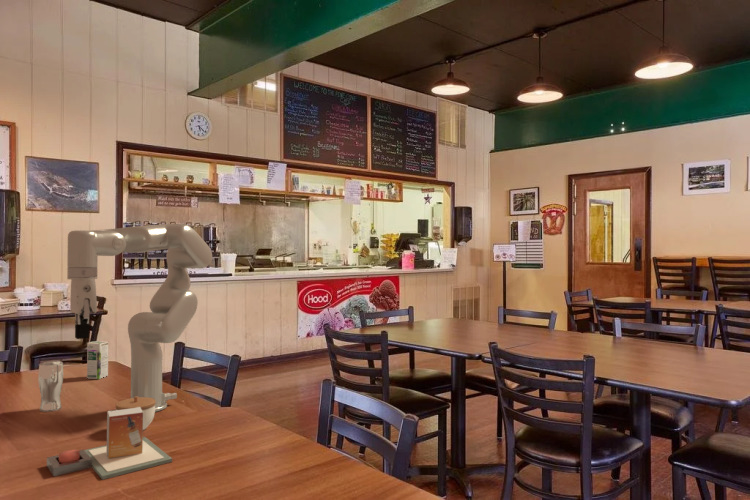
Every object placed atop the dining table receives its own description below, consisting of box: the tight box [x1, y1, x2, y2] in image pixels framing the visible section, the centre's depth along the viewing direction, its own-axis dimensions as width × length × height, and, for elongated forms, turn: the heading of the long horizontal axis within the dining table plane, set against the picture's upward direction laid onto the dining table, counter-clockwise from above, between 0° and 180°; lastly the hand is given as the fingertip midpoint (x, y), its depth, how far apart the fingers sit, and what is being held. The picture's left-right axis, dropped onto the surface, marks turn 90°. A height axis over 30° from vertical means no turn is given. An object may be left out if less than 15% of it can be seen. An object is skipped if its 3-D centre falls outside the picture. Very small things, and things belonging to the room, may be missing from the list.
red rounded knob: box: [58, 449, 80, 464], centre depth 129 cm, size 4×4×3 cm
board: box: [83, 436, 173, 481], centre depth 135 cm, size 16×20×1 cm
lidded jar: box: [115, 396, 156, 431], centre depth 156 cm, size 11×11×9 cm
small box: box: [106, 407, 144, 458], centre depth 136 cm, size 8×6×10 cm
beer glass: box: [37, 360, 64, 413], centre depth 174 cm, size 7×7×15 cm
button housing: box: [46, 449, 93, 477], centre depth 129 cm, size 8×8×2 cm
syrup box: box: [86, 340, 109, 380], centre depth 216 cm, size 6×6×14 cm
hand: (82, 338), depth 152 cm, fingers closed
